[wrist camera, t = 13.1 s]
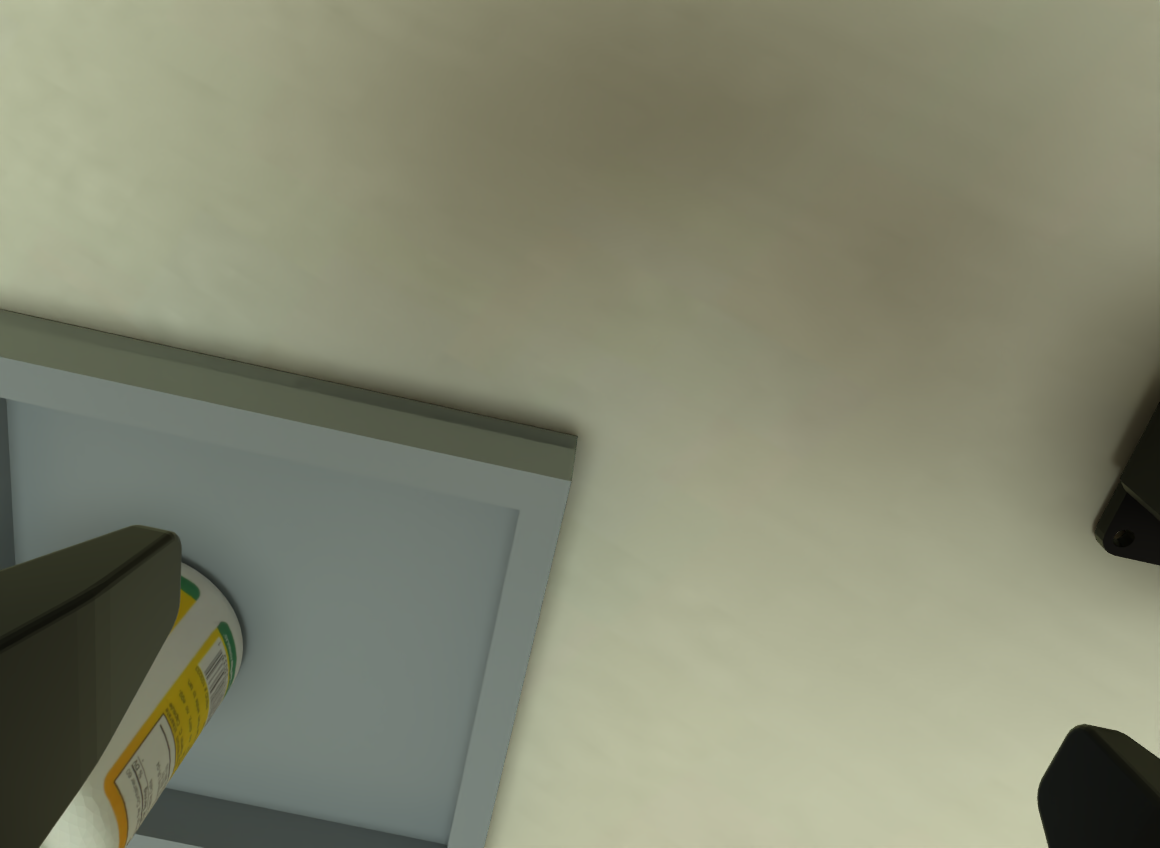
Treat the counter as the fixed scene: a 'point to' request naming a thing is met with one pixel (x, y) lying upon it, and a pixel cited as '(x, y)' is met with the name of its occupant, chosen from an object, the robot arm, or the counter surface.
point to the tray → (303, 575)
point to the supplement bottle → (158, 721)
